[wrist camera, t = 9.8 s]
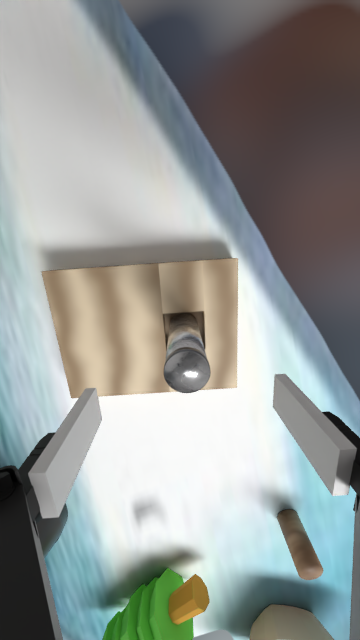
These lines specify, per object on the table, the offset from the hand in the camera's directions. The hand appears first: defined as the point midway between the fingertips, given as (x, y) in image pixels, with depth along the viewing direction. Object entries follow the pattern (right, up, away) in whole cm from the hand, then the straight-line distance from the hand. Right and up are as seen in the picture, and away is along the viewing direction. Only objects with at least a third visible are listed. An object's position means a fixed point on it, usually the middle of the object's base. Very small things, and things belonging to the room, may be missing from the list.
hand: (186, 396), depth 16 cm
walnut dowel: (+21, -33, +27) cm, 48 cm away
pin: (0, +5, +15) cm, 16 cm away
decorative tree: (-8, -54, +34) cm, 64 cm away
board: (-5, +5, +16) cm, 17 cm away
